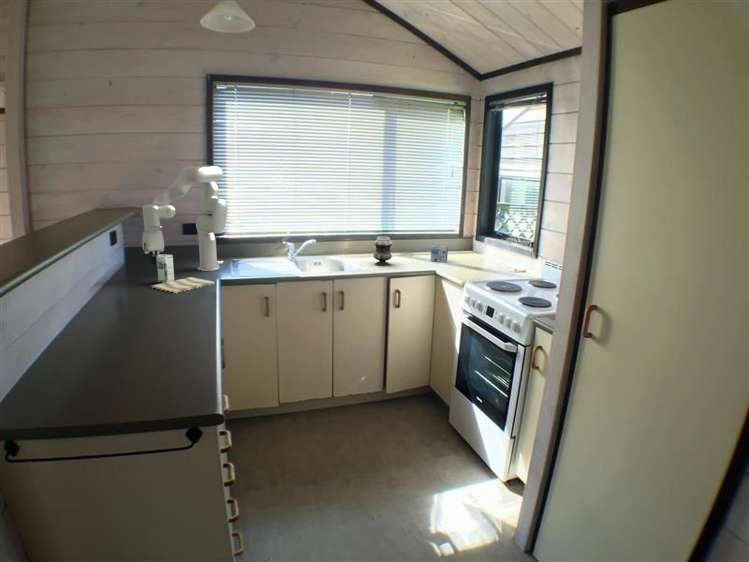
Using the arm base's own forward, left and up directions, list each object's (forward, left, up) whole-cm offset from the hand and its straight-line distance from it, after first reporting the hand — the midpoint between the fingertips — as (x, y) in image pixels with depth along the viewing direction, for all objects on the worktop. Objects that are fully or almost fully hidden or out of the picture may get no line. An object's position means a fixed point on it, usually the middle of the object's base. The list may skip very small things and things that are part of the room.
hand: (155, 263), depth 252 cm
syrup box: (0, +8, -9) cm, 12 cm away
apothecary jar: (-111, +76, -9) cm, 135 cm away
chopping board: (0, +22, -9) cm, 23 cm away
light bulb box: (-144, +102, -9) cm, 177 cm away
